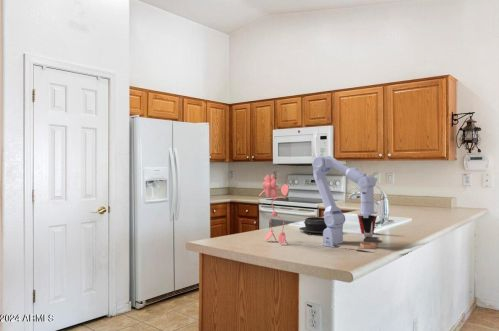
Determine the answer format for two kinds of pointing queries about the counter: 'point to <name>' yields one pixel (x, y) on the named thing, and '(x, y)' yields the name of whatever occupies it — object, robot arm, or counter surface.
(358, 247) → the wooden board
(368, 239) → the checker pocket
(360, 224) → the plastic cup
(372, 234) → the steel cell
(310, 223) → the casserole
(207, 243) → the counter surface
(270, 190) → the figurine
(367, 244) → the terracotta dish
